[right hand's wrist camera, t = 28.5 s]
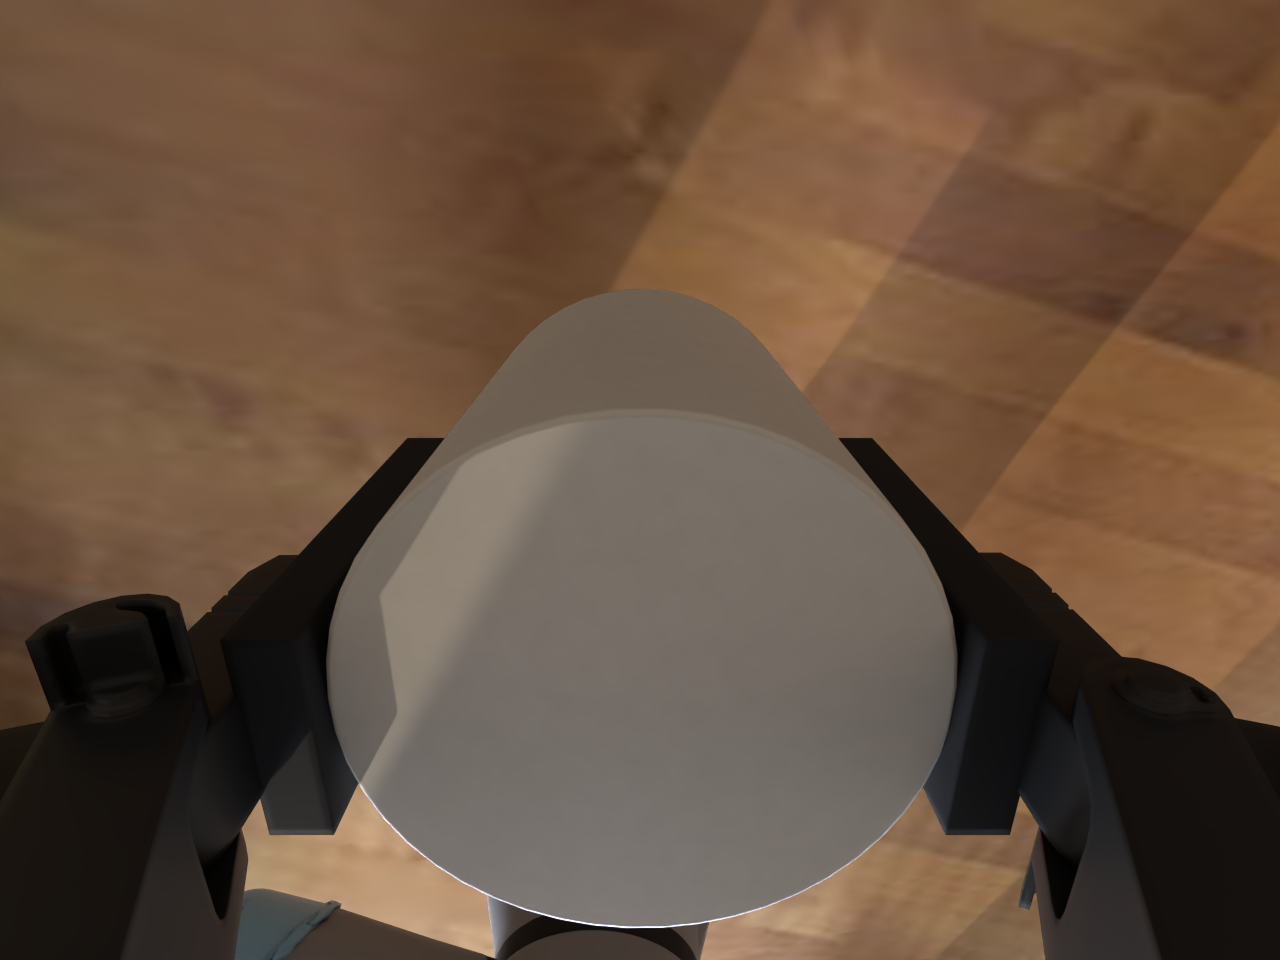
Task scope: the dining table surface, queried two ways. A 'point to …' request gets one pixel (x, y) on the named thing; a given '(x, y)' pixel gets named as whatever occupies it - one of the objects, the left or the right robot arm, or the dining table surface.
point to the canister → (641, 632)
